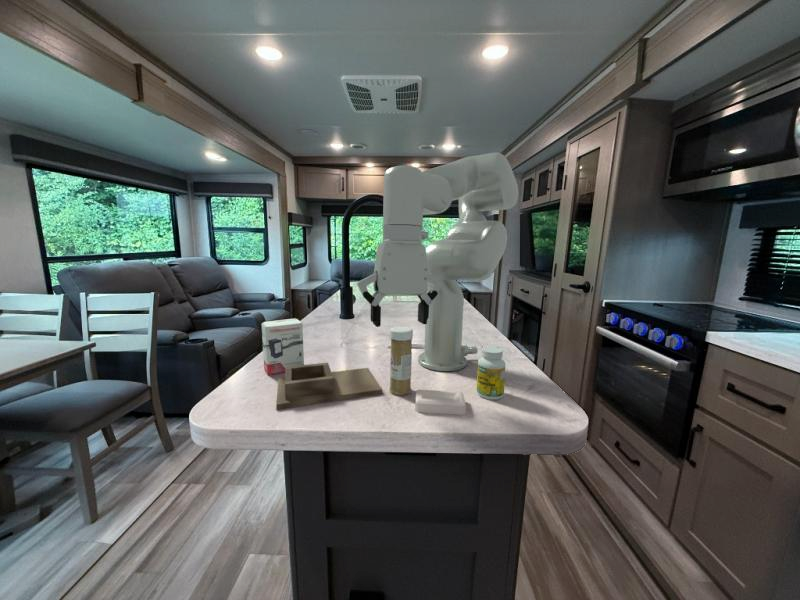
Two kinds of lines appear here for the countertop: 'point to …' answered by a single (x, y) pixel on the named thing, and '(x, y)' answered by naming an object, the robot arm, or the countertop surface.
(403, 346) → the sprinkles bottle
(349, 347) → the countertop surface
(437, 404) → the white soap dish
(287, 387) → the caddy board
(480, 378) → the supplement bottle
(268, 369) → the ink box
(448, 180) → the robot arm
